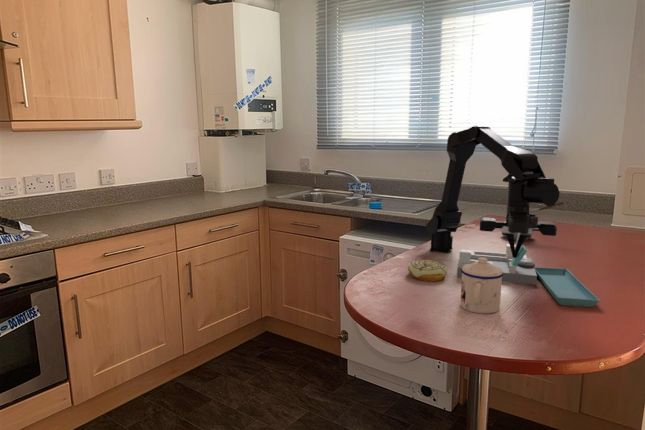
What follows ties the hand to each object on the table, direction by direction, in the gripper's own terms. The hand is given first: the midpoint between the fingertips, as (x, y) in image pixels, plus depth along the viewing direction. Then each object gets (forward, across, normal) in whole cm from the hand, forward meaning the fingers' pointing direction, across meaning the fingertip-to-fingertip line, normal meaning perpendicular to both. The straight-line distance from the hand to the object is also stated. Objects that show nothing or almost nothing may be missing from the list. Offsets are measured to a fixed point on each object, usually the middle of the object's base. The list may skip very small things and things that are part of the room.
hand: (514, 257), depth 129 cm
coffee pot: (+6, +9, +51) cm, 52 cm away
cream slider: (+4, 0, +11) cm, 12 cm away
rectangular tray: (+7, +12, -4) cm, 14 cm away
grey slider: (+4, -13, 0) cm, 13 cm away
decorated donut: (+6, -22, -5) cm, 24 cm away
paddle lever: (+2, 0, 0) cm, 3 cm away
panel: (+6, -4, +6) cm, 9 cm away
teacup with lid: (+6, -8, -26) cm, 28 cm away
